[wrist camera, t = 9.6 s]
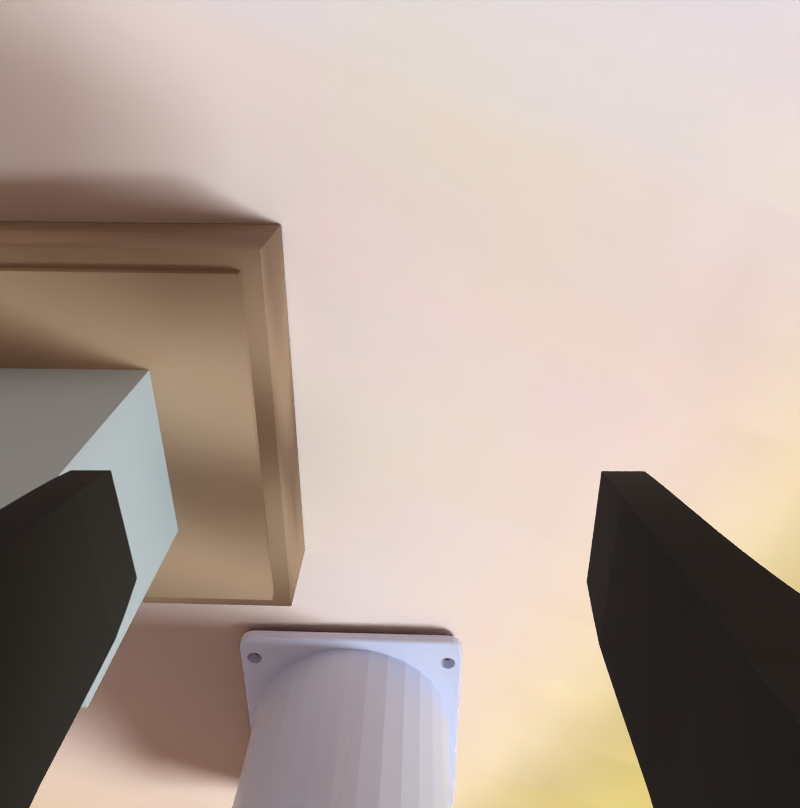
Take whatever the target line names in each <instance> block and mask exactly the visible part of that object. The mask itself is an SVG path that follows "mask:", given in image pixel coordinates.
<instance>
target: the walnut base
mask: <svg viewBox="0 0 800 808" xmlns="http://www.w3.org/2000/svg"><path fill="white" fill-rule="evenodd" d="M0 368H21V369H113V370H149V371H150V376H151V382H152V388H153V393H154V399H155V404H156V410H157V416H158V421H159V427H160V432H161V438H162V443H163V449H164V455H165V460H166V466H167V471H168V477H169V482H170V488H171V494H172V499H173V505H174V510H175V516H176V521H177V527H178V532H177V534H176V536H175V538H174V540H173V542H172V544H171V546H170V548H169V550H168V552H167V553H166V555H165V557H164V559H163V561H162V563H161V565H160V567H159V569H158V571H157V573H156V575H155V577H154V579H153V581H152V583H151V585H150V587H149V589H148V591H147V592H146V594H145V596H144V598H143V600H142V602H150V603H189V604H229V605H268V606H291V605H292V601H293V597H294V593H295V588H296V584H297V580H298V576H299V572H300V568H301V563H302V559H303V555H304V551H305V546H304V533H303V519H302V505H301V492H300V478H299V464H298V450H297V437H296V423H295V409H294V395H293V382H292V368H291V354H290V340H289V327H288V313H287V299H286V286H285V272H284V258H283V244H282V231H281V224H198V223H103V222H8V221H0Z"/></svg>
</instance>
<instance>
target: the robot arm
mask: <svg viewBox="0 0 800 808" xmlns="http://www.w3.org/2000/svg"><path fill="white" fill-rule="evenodd" d="M136 580H137V575H136V571H135V567H134V563H133V559H132V555H131V551H130V547H129V542H128V538H127V534H126V530H125V526H124V522H123V518H122V514H121V510H120V506H119V501H118V497H117V493H116V489H115V485H114V481H113V477H112V473H111V470H70V471H68V472H66V473H64V474H62V475H60V476H58V477H56V478H54V479H52V480H50V481H48V482H46V483H44V484H43V485H41V486H39V487H37V488H35V489H34V490H32V491H30V492H28V493H27V494H25V495H23V496H22V497H20V498H18V499H17V500H15V501H13V502H11V503H10V504H8V505H6V506H5V507H3V508H1V509H0V808H29V807H30V805H31V803H32V801H33V799H34V796H35V794H36V792H37V790H38V788H39V786H40V784H41V782H42V780H43V778H44V776H45V774H46V772H47V770H48V768H49V767H50V765H51V763H52V761H53V759H54V757H55V755H56V753H57V751H58V749H59V747H60V746H61V744H62V742H63V740H64V738H65V736H66V734H67V732H68V730H69V728H70V727H71V725H72V723H73V721H74V719H75V717H76V715H77V713H78V711H79V709H80V707H81V706H82V704H83V702H84V700H85V698H86V696H87V694H88V692H89V690H90V688H91V687H92V685H93V683H94V681H95V679H96V677H97V675H98V673H99V671H100V669H101V667H102V665H103V663H104V661H105V659H106V657H107V655H108V653H109V651H110V649H111V647H112V645H113V643H114V641H115V639H116V637H117V634H118V631H119V629H120V626H121V623H122V621H123V618H124V615H125V613H126V610H127V607H128V604H129V601H130V598H131V595H132V592H133V589H134V586H135V583H136ZM587 585H588V590H589V596H590V601H591V606H592V612H593V617H594V622H595V626H596V631H597V636H598V641H599V645H600V648H601V651H602V654H603V658H604V661H605V664H606V667H607V670H608V673H609V676H610V679H611V682H612V685H613V688H614V691H615V694H616V697H617V700H618V703H619V706H620V709H621V712H622V715H623V718H624V721H625V723H626V726H627V729H628V732H629V735H630V738H631V741H632V744H633V747H634V750H635V753H636V756H637V759H638V762H639V765H640V768H641V771H642V774H643V777H644V780H645V783H646V786H647V788H648V791H649V794H650V798H651V801H652V805H653V808H800V593H798V592H797V591H795V590H794V589H793V588H791V587H790V586H788V585H787V584H786V583H784V582H783V581H781V580H780V579H779V578H777V577H776V576H774V575H773V574H772V573H770V572H769V571H768V570H767V569H765V568H764V567H763V566H761V565H760V564H759V563H757V562H756V561H755V560H753V559H752V558H751V557H749V556H748V555H747V554H746V553H744V552H743V551H742V550H740V549H739V548H738V547H737V546H735V545H734V544H733V543H732V542H730V541H729V540H728V539H727V538H725V537H724V536H723V535H722V534H720V533H719V532H718V531H717V530H716V529H714V528H713V527H712V526H711V525H709V524H708V523H707V522H706V521H705V520H703V519H702V518H701V517H700V516H699V515H697V514H696V513H695V512H694V511H693V510H691V509H690V508H689V507H688V506H687V505H685V504H684V503H683V502H682V501H681V500H679V499H678V498H677V497H676V496H675V495H673V494H672V493H671V492H670V491H669V490H667V489H666V488H665V487H664V486H663V485H661V484H660V483H659V482H658V481H656V480H655V479H654V478H653V477H651V476H650V475H649V474H647V473H646V472H644V471H602V472H601V479H600V487H599V494H598V502H597V509H596V517H595V524H594V532H593V539H592V547H591V554H590V562H589V569H588V577H587ZM240 652H241V659H242V667H243V674H244V681H245V689H246V696H247V703H248V711H249V718H250V726H251V736H250V740H249V744H248V748H247V752H246V756H245V760H244V764H243V768H242V772H241V776H240V780H239V784H238V788H237V791H236V795H235V799H234V803H233V807H232V808H451V807H452V806H453V799H454V783H455V766H456V749H457V732H458V715H459V698H460V681H461V665H462V645H461V642H460V640H459V639H458V638H456V637H454V636H446V635H408V634H370V633H332V632H294V631H256V630H254V631H248V632H246V633H245V634H244V635H243V636H242V639H241V642H240ZM253 653H257V654H259V655H255V654H253ZM445 658H450V659H451V660H444V659H445Z"/></svg>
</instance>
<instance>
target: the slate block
mask: <svg viewBox="0 0 800 808" xmlns="http://www.w3.org/2000/svg"><path fill="white" fill-rule="evenodd" d="M70 470H111V473H112V477H113V481H114V485H115V489H116V493H117V497H118V501H119V506H120V510H121V514H122V518H123V522H124V526H125V530H126V534H127V538H128V542H129V547H130V551H131V555H132V559H133V563H134V567H135V571H136V575H137V580H136V583H135V586H134V589H133V592H132V595H131V598H130V601H129V604H128V607H127V610H126V613H125V615H124V618H123V621H122V623H121V626H120V629H119V631H118V634H117V637H116V639H115V641H114V643H113V645H112V647H111V649H110V651H109V653H108V655H107V657H106V659H105V661H104V663H103V665H102V667H101V669H100V671H99V673H98V675H97V677H96V679H95V681H94V683H93V685H92V687H91V688H90V690H89V692H88V694H87V696H86V698H85V700H84V702H83V704H82V706H81V707H88V706H89V704H90V702H91V700H92V698H93V696H94V694H95V692H96V690H97V688H98V686H99V684H100V682H101V680H102V678H103V676H104V674H105V673H106V671H107V669H108V667H109V665H110V663H111V661H112V659H113V657H114V655H115V653H116V651H117V649H118V647H119V645H120V643H121V641H122V639H123V637H124V635H125V633H126V632H127V630H128V628H129V626H130V624H131V622H132V620H133V618H134V616H135V614H136V612H137V610H138V608H139V606H140V604H141V602H142V600H143V598H144V596H145V594H146V592H147V591H148V589H149V587H150V585H151V583H152V581H153V579H154V577H155V575H156V573H157V571H158V569H159V567H160V565H161V563H162V561H163V559H164V557H165V555H166V553H167V552H168V550H169V548H170V546H171V544H172V542H173V540H174V538H175V536H176V534H177V532H178V527H177V521H176V516H175V510H174V505H173V499H172V494H171V488H170V482H169V477H168V471H167V466H166V460H165V455H164V449H163V443H162V438H161V432H160V427H159V421H158V416H157V410H156V404H155V399H154V393H153V388H152V382H151V376H150V371H149V370H113V369H21V368H0V509H1V508H3V507H5V506H6V505H8V504H10V503H11V502H13V501H15V500H17V499H18V498H20V497H22V496H23V495H25V494H27V493H28V492H30V491H32V490H34V489H35V488H37V487H39V486H41V485H43V484H44V483H46V482H48V481H50V480H52V479H54V478H56V477H58V476H60V475H62V474H64V473H66V472H68V471H70Z"/></svg>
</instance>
